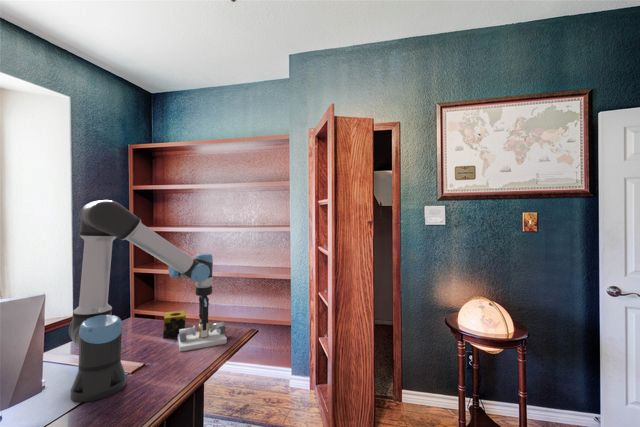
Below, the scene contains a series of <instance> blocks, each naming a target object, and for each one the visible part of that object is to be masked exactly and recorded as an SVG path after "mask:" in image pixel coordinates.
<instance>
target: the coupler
mask: <svg viewBox="0 0 640 427" xmlns="http://www.w3.org/2000/svg"><path fill="white" fill-rule="evenodd" d="M209 323H210V322H208V323H207V337H208V336H209ZM198 331H199V338H206V337H201V324H200V322H199V323H198Z"/></svg>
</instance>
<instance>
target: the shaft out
mask: <svg viewBox="0 0 640 427" xmlns="http://www.w3.org/2000/svg"><path fill="white" fill-rule="evenodd" d="M208 323H209V331H210V333H211V332H213V330H216V332H218V333H219V334H220V335H221V334H224V335H225V334H226V324H225V321H221V322H215V323H212V322H208Z"/></svg>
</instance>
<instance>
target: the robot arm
mask: <svg viewBox="0 0 640 427" xmlns="http://www.w3.org/2000/svg"><path fill="white" fill-rule="evenodd" d="M78 221H79V223H80V226H79V237H81V239H82V240H83V242H84V243H83V254H82V266H81V278H80V288H79V289H80V290H79V299H78V300H79V302H78V306H77V307H76V308H75V309H74V310H73V312H72V319H71V322H70V323H69V326H68V336H69V338H70V340H71V341H72V342H73V344H75V346H76V347H77V349H78V369H77V370H78V371H77V373H76V375H75V379H74V381H73V383H72V386H71V388H70V399H71V401H74V402H76V403H77V402H78V403H87V402H88V403H89V402H93V401H95V402H96V401H98V400H101V399H105V398H108V397H110V396H113V395H114V394H116V393H118V392H120V391H121V390H122V389H123V388H124V387H125V386H126V384H127V374H126V372H125V370H124V366H123V364H122V360H121V358H122V339H123V338H122V335H123V334H122V332H123V321H122V319H121V318H120V317H119V316H118V315H114V314H113V315H112V312H113V307H112V305H110V304H109V303H108V301H109V293H110V292H109V290H110V279H111V278H110V276H111V265H112V264H111V262H112V251H113V241H115V240H116V239H117V238H118V239H119V240H121V241H125V240H126V241H128V242H130V243H131V244H132V245H134V246H136V247H138V248H139V249H141V250H142V251H144V252H145V253H147V254H150V255H151V256H153V257H154V258H156V259H158V260H159V261H161V262H162V263H163V264H166V265H167V266H168V275H169V277H170V278H172V279H179V278H185V279H188V280H191V281H193V282H195V284H194V285H195V295H196V296H198V303H199V304H198V305H199V308H198V309H199V310H198V311H199V312H198V313H199V314H198V317H199V323H200V324H201V337H207V323H209V304H210V303H209V301H210V300H209V298H208V296H209V295H212V294H213V281H214V278H213V270H214V268H213V266H214V260H213V255H212V254H211V253H198V254H196V255H195V258H193V257H192V256H191V255H189V254H187V253H186V252H184V251H183V250H181V249H180V248H179V247H177V246H175V245H174V244H173V243H171V242H170V241H168V240H167V239H166V238H164V237H162V236H161V235H159V234H158V233H157V232H155V231H154V230H152V229H151V228H149V227H148V226H146V225H145V224H144V223H142V219H141V218H140V217H138V216H137V215H135V213H133V212H131V211H130V210H128V209H127V208H126V207H125V206H123V205H122V204H121V203H119V202H117V201H115V200H109V199H103V200H94V201H90V202H88V203H86V204H85V205H83V207H82V208H80V211H79V213H78Z"/></svg>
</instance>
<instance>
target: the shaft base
mask: <svg viewBox="0 0 640 427" xmlns="http://www.w3.org/2000/svg"><path fill="white" fill-rule="evenodd" d="M227 339H228V338H227V337H226V335H225V334H221V335H220V334H219V333H218V332H216V330H213V332H211V333H210V331H209V336H208V337H206V338H199V330H198V331H197V326H196V325H193V326H192V327H185V329H179V334H178V336H177V344H178V349H179V352H186V351H191V350H192V351H193V350H196V349H201V348H208V347H212V346H213V347H214V346H217V345H218V346H220V345H225V344H227V343H228V340H227Z"/></svg>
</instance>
